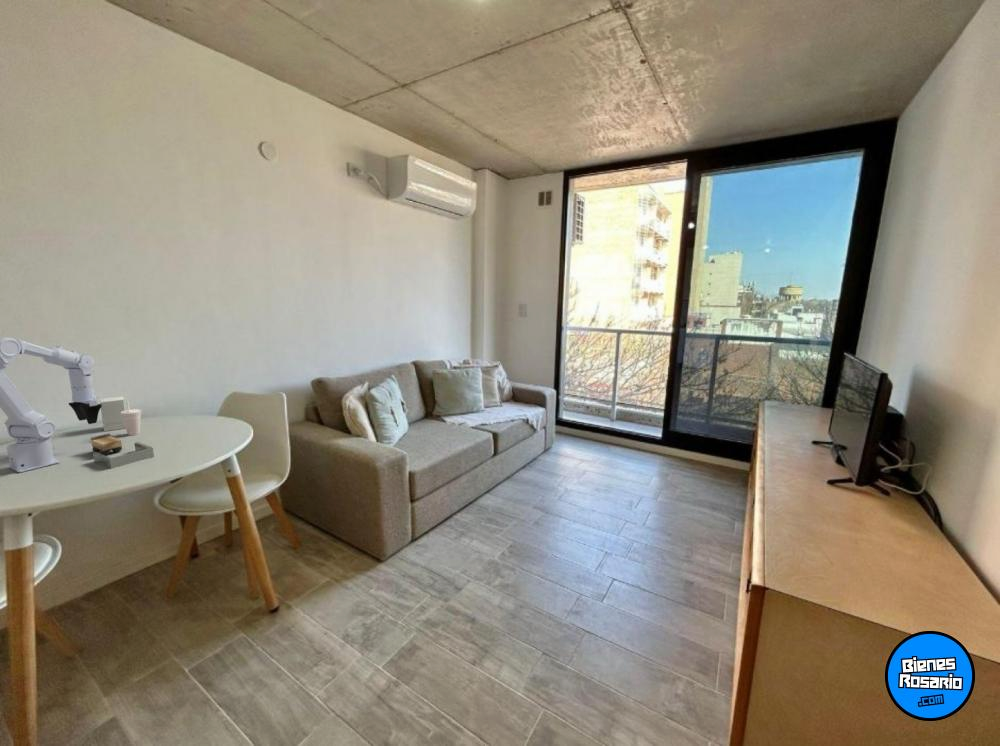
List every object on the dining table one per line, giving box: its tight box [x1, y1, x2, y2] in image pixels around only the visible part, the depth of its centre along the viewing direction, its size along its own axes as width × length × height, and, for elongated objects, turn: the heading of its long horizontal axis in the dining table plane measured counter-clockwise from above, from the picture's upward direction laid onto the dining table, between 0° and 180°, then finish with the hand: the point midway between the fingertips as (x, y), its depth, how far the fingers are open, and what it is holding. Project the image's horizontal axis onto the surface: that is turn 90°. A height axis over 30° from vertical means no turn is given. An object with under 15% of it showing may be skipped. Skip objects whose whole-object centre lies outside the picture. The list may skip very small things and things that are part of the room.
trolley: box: [90, 433, 123, 456], centre depth 147 cm, size 6×8×6 cm
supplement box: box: [99, 396, 126, 432], centre depth 171 cm, size 7×7×13 cm
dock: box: [92, 441, 155, 469], centre depth 142 cm, size 12×11×3 cm
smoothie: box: [121, 400, 142, 436], centre depth 165 cm, size 6×6×14 cm
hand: (87, 421), depth 151 cm, fingers open, 7 cm apart
